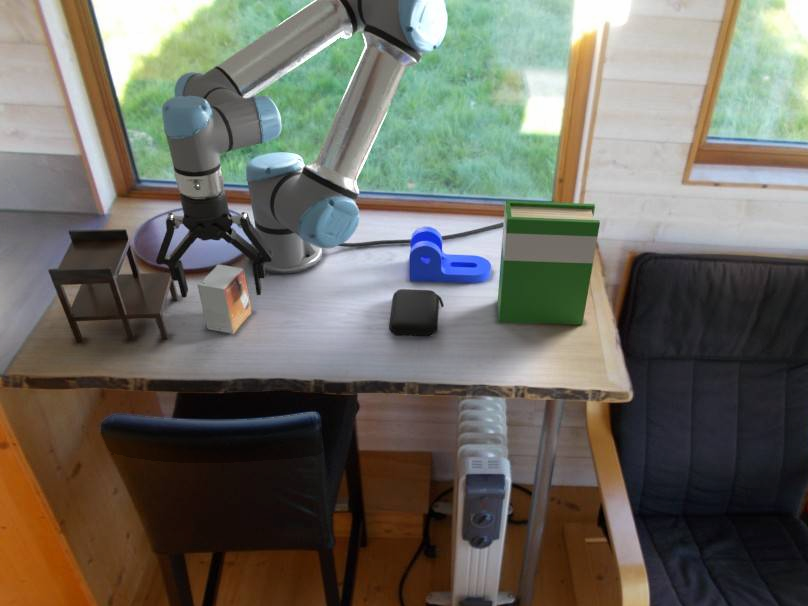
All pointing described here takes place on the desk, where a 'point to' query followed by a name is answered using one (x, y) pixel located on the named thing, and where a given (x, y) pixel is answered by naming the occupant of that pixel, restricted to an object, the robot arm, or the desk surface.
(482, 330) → the desk surface
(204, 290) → the small box
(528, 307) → the hardback book
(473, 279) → the bracket
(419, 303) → the carrying case
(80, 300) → the rack
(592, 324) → the desk surface
